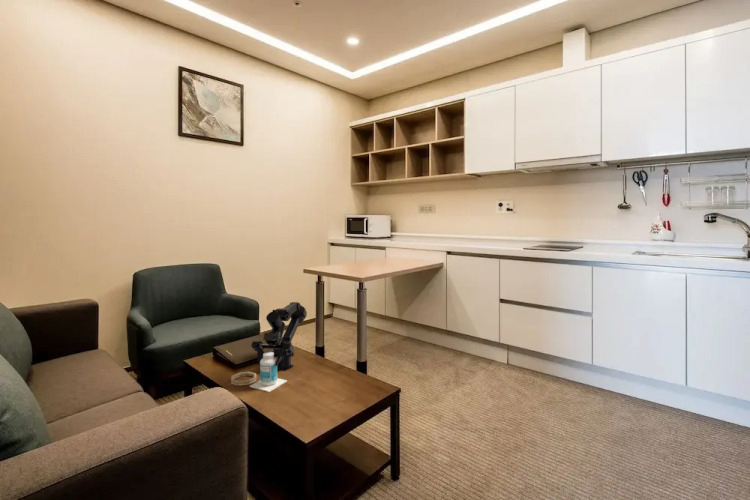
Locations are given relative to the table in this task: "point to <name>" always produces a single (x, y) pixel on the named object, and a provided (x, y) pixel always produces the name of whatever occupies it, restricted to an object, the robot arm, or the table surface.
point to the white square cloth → (268, 388)
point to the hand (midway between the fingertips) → (267, 364)
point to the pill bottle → (268, 369)
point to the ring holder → (243, 381)
